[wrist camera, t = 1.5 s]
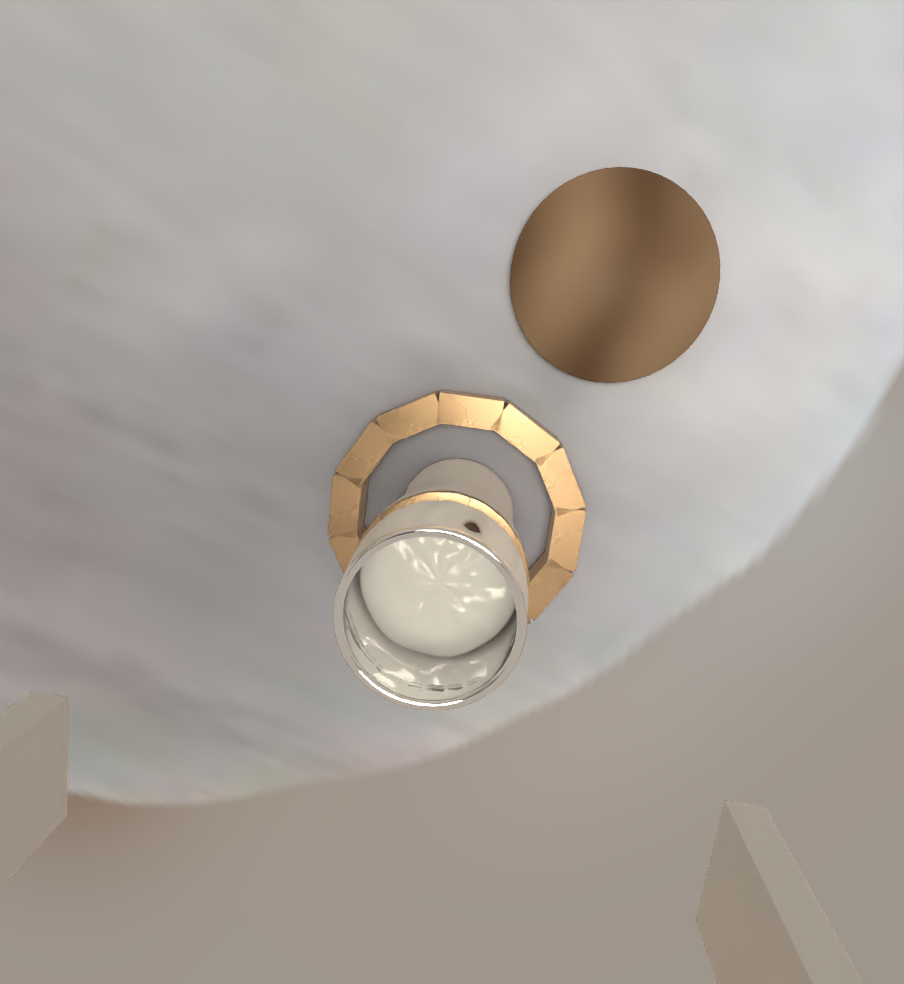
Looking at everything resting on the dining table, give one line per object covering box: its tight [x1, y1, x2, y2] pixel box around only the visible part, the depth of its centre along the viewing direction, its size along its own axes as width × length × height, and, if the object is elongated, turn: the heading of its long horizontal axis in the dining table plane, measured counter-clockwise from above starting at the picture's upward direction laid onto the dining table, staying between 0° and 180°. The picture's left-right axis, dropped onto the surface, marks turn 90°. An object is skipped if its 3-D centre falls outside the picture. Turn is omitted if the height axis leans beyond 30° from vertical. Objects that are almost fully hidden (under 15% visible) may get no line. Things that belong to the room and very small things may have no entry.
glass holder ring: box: [328, 390, 586, 624], centre depth 37 cm, size 13×13×2 cm
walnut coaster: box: [510, 167, 720, 383], centre depth 34 cm, size 10×10×1 cm
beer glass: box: [333, 459, 530, 711], centre depth 31 cm, size 7×7×15 cm
